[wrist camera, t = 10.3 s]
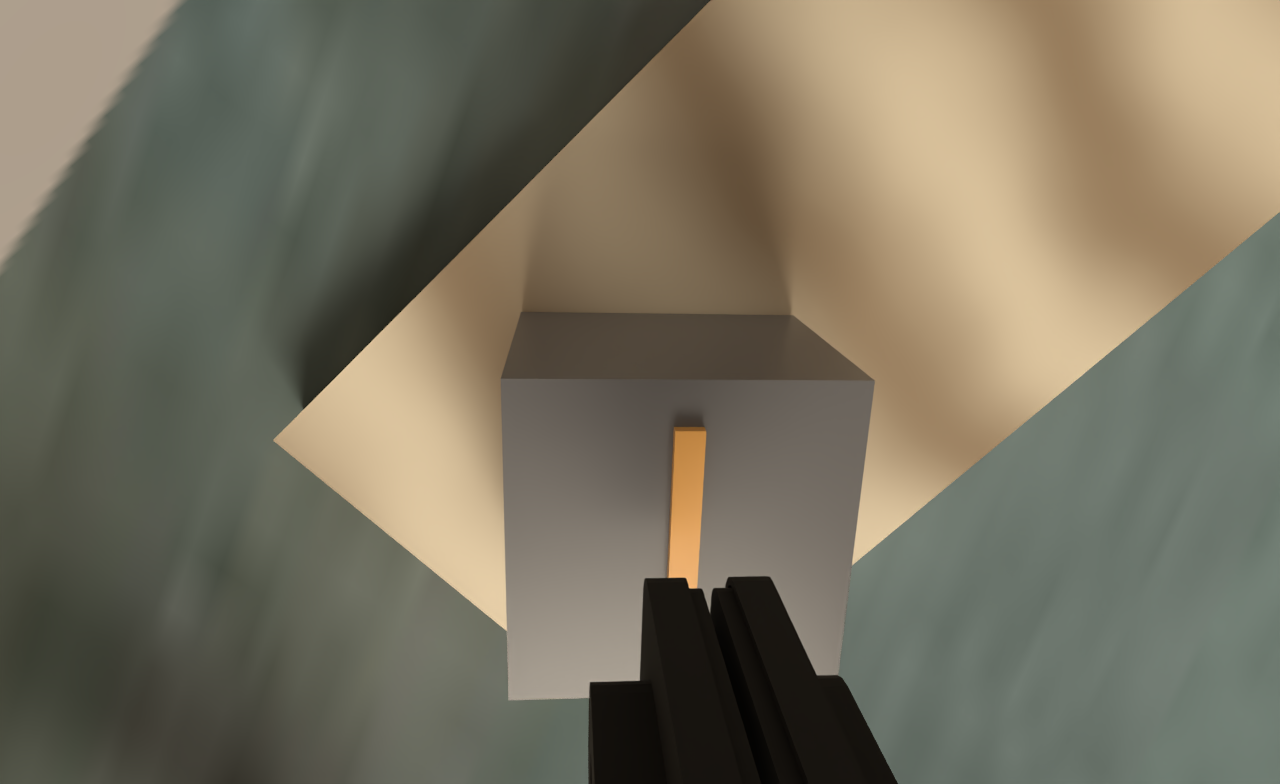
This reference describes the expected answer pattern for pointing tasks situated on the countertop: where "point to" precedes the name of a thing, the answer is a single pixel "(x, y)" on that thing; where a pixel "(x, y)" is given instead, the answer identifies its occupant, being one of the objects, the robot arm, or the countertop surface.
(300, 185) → the countertop surface
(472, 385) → the light wood flat block
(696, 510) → the grey and orange block
